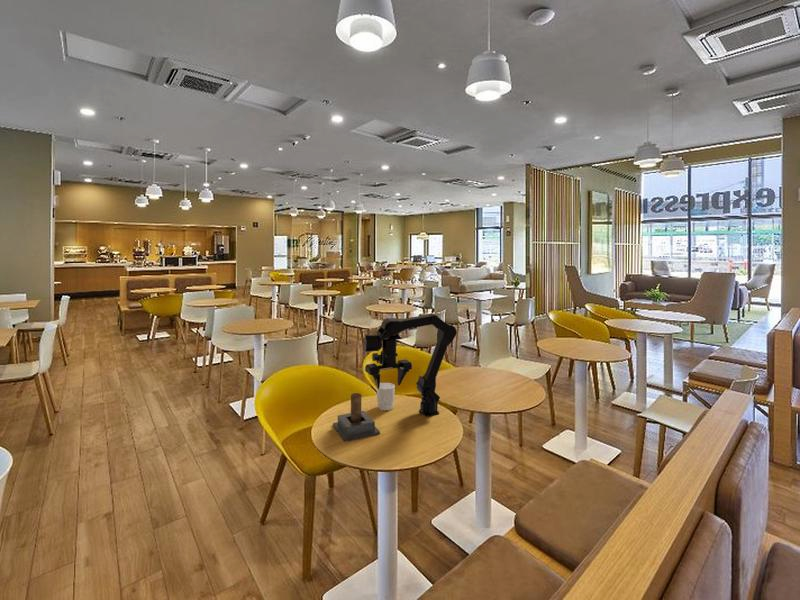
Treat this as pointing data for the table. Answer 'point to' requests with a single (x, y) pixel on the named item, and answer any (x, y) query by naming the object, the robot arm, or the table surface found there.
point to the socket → (355, 427)
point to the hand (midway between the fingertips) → (388, 387)
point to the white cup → (385, 396)
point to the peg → (355, 407)
